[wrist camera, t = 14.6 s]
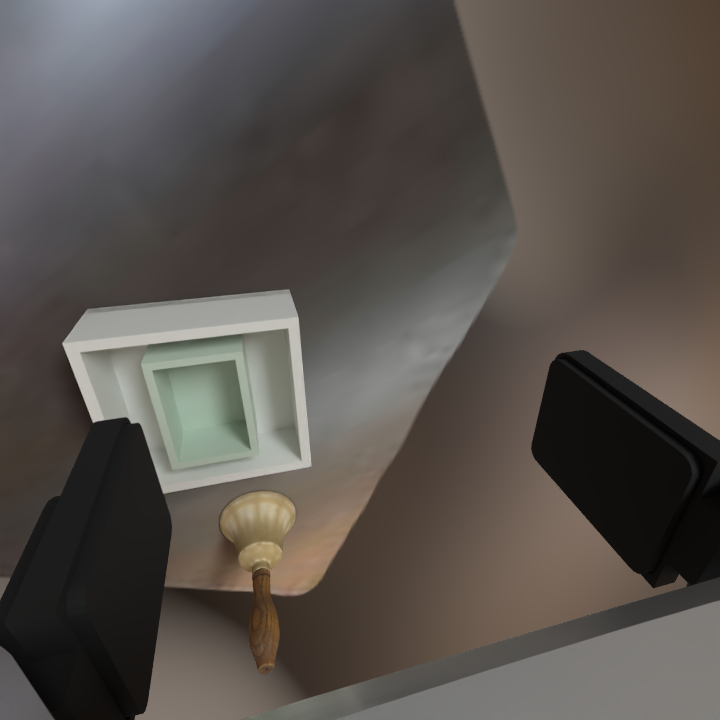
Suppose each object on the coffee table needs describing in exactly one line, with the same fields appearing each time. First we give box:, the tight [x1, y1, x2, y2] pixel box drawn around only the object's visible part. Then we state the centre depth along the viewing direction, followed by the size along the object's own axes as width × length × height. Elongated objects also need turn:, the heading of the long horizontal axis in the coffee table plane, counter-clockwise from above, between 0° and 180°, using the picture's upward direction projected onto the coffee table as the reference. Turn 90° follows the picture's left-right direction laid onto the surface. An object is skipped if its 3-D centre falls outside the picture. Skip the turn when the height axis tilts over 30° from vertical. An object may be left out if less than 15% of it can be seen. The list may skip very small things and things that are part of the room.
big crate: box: [62, 289, 311, 494], centre depth 37 cm, size 15×16×6 cm
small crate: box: [141, 334, 259, 470], centre depth 36 cm, size 10×7×5 cm
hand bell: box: [220, 491, 296, 674], centre depth 42 cm, size 8×8×16 cm
